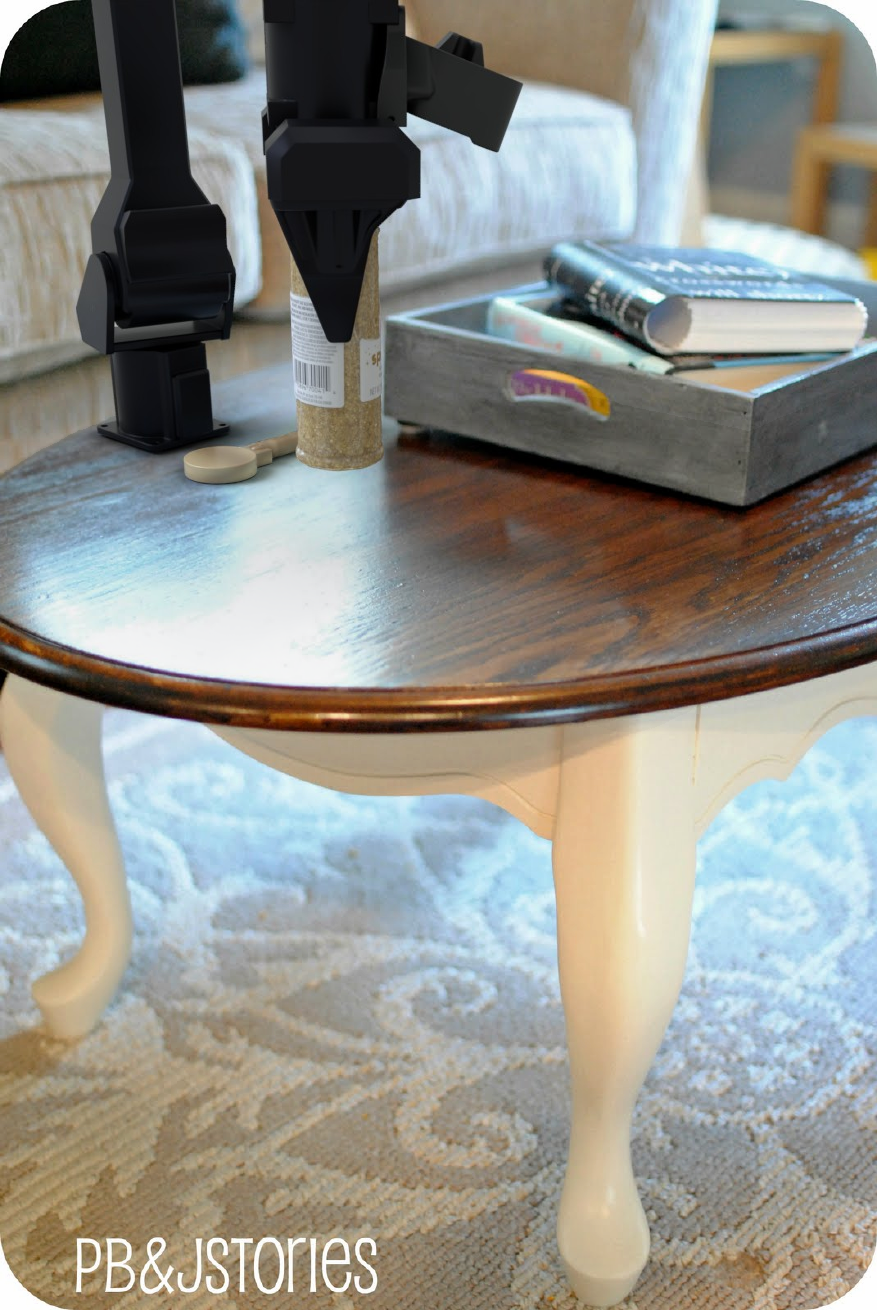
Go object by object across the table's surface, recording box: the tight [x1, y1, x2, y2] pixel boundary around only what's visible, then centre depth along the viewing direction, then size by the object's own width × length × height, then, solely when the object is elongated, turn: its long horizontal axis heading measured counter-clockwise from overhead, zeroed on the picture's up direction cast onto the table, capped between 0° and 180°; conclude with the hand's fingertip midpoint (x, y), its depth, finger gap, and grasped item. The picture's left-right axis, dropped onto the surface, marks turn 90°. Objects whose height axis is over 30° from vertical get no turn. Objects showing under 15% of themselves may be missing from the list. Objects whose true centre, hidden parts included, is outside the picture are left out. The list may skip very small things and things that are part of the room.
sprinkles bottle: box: [289, 226, 385, 472], centre depth 66 cm, size 5×5×13 cm
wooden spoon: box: [183, 430, 298, 485], centre depth 87 cm, size 15×4×1 cm, turn 137°
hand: (336, 330), depth 66 cm, fingers closed on sprinkles bottle, 4 cm apart
